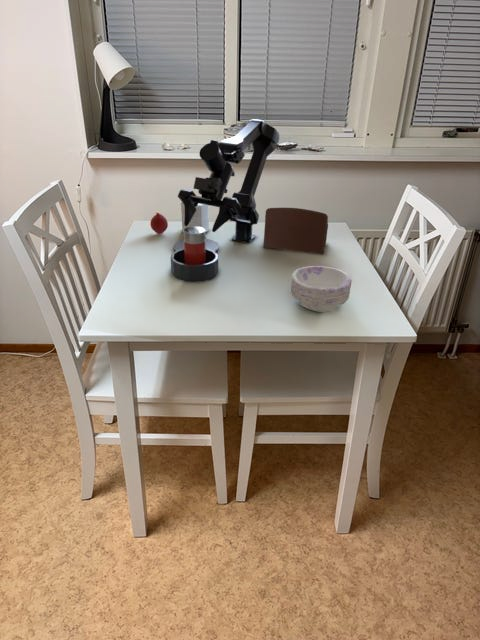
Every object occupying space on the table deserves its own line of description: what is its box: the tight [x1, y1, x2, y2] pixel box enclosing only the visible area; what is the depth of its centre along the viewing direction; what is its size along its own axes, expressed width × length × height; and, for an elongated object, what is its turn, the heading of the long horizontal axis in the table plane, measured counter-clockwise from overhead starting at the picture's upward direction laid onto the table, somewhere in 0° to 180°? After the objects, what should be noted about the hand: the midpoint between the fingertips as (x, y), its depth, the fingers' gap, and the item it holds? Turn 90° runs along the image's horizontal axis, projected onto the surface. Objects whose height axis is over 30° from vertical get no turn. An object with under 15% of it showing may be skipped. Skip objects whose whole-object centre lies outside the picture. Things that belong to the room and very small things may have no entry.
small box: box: [180, 201, 210, 233], centre depth 170 cm, size 8×6×10 cm
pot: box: [170, 248, 219, 283], centre depth 142 cm, size 14×14×5 cm
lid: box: [173, 238, 220, 253], centre depth 157 cm, size 15×15×6 cm
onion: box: [149, 211, 169, 235], centre depth 167 cm, size 6×6×8 cm
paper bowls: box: [290, 265, 352, 313], centre depth 127 cm, size 15×15×8 cm
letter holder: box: [263, 207, 329, 255], centre depth 160 cm, size 10×20×14 cm, turn 76°
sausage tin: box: [183, 226, 206, 265], centre depth 140 cm, size 6×6×12 cm
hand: (199, 228), depth 139 cm, fingers open, 9 cm apart
